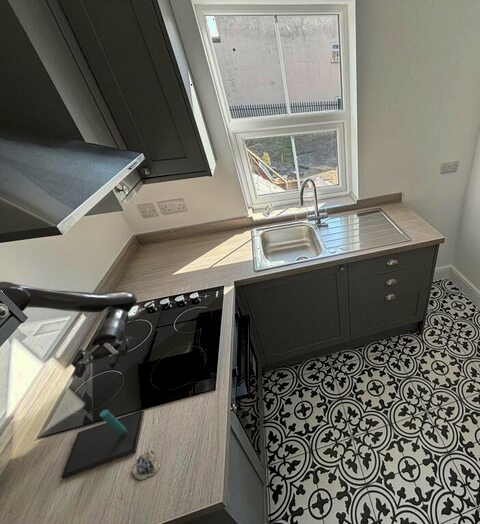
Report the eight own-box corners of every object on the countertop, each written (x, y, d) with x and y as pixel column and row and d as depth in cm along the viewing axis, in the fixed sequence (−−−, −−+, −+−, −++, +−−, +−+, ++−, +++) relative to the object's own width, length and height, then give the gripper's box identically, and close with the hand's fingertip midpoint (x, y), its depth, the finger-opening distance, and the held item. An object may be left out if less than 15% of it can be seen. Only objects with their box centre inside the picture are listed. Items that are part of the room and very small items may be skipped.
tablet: (63, 479, 81) (60, 477, 80) (79, 433, 91) (77, 432, 90) (136, 451, 86) (134, 450, 85) (144, 411, 96) (142, 409, 95)
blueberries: (147, 448, 86) (144, 445, 85) (168, 457, 84) (165, 454, 83) (126, 474, 81) (123, 471, 80) (148, 484, 79) (145, 481, 78)
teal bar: (119, 437, 88) (98, 417, 82) (122, 431, 90) (101, 410, 83) (127, 435, 89) (106, 415, 82) (129, 429, 90) (109, 408, 84)
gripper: (79, 332, 97) (59, 371, 84) (128, 319, 101) (116, 355, 88) (92, 347, 101) (74, 386, 88) (138, 334, 105) (127, 370, 92)
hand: (95, 371), depth 88 cm, fingers open, 8 cm apart
